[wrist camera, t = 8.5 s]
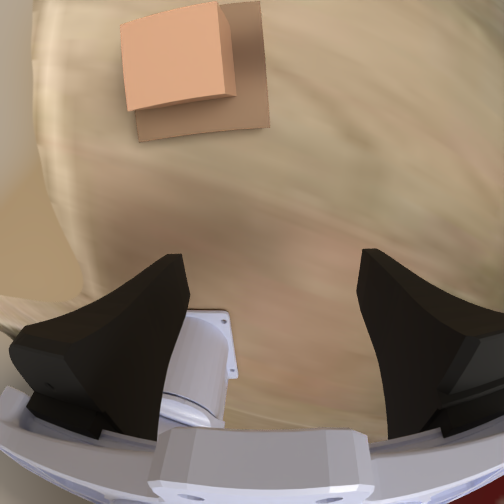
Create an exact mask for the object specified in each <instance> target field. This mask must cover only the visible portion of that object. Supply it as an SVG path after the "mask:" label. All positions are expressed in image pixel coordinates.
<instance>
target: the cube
mask: <svg viewBox="0 0 504 504" xmlns="http://www.w3.org/2000/svg"><path fill="white" fill-rule="evenodd" d="M120 32H121V49H122V62H123V74H124V84H125V93H126V102H127V109H128V111H134V110H142V109H152V108H161V107H167V106H172V105H177V104H183V103H189V102H196V101H202V100H210V99H217V98H226V97H235V96H237V93H236V82H235V72H234V61H233V51H232V40H231V30H230V24H229V22H228V21H227V19H226V17H225V15H224V13H223V11H222V10H221V8H220V6H219V4H218V3H217V1H214V2H207V3H202V4H196V5H191V6H186V7H182V8H177V9H173V10H169V11H165V12H161V13H157V14H153V15H150V16H146V17H143V18H140V19H136V20H133V21H130V22H127V23H124V24H121V25H120Z"/></svg>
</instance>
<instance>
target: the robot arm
mask: <svg viewBox="0 0 504 504" xmlns="http://www.w3.org/2000/svg"><path fill="white" fill-rule="evenodd" d="M356 292H357V297H358V302H359V306H360V310H361V313H362V316H363V319H364V322H365V324H366V327H367V330H368V333H369V335H370V338H371V341H372V344H373V347H374V349H375V352H376V356H377V359H378V363H379V367H380V372H381V378H382V383H383V390H384V396H385V404H386V413H387V424H388V440H385V441H380V442H374V443H368V439H367V435H365V434H363V433H360V432H358V431H355V430H352V429H350V428H330V427H322V428H308V429H283V430H250V429H226V428H224V426H225V422H224V421H222V420H223V414H224V407H225V400H226V393H227V386H228V379H229V378H231V379H235V378H237V377H238V368H237V362H236V356H235V350H234V343H233V336H232V330H231V323H230V316H229V313H228V312H227V311H223V310H187V309H188V304H189V299H190V292H189V287H188V282H187V278H186V273H185V268H184V263H183V258H182V254H167V255H165V256H164V257H162V258H160V259H159V260H157V261H156V262H155V263H153V264H152V265H150V266H149V267H148V268H146V269H145V270H144V271H142V272H141V273H139V274H138V275H137V276H135V277H134V278H132V279H131V280H129V281H128V282H126V283H125V284H123V285H122V286H120V287H119V288H118V289H116V290H114V291H113V292H111V293H109V294H108V295H106V296H104V297H102V298H100V299H99V300H97V301H95V302H93V303H91V304H88V305H86V306H84V307H82V308H80V309H78V310H75V311H73V312H70V313H68V314H65V315H62V316H59V317H57V318H54V319H50V320H47V321H43V322H39V323H35V324H32V325H27V326H25V327H24V328H23V329H22V330H21V332H20V333H19V334H18V335H17V337H16V338H15V339H14V341H13V342H12V344H11V345H10V347H9V354H10V358H11V360H12V362H13V364H14V366H15V367H16V369H17V370H18V371H19V373H20V374H21V375H22V377H23V378H24V379H25V381H26V382H27V383H28V384H29V386H30V387H31V388H32V389H33V390H34V393H33V395H32V397H30V396H28V395H27V394H25V393H24V392H22V391H19V390H17V389H15V388H12V387H11V386H6V388H5V389H4V391H3V393H2V395H1V396H0V450H1V451H3V452H4V453H5V454H7V455H8V456H9V457H10V458H12V459H13V460H14V461H16V462H17V463H18V464H20V465H21V466H23V467H24V468H26V469H28V470H29V471H31V472H33V473H34V474H36V475H38V476H40V477H42V478H43V479H45V480H47V481H49V482H51V483H53V484H55V485H57V486H59V487H60V488H62V489H64V490H66V491H69V492H71V493H73V494H75V495H77V496H79V497H81V498H84V499H86V500H88V501H91V502H93V503H96V504H446V503H448V502H451V501H453V500H455V499H458V498H460V497H462V496H464V495H466V494H468V493H470V492H472V491H474V490H476V489H478V488H480V487H482V486H484V485H486V484H488V483H490V482H492V481H493V480H495V479H497V478H499V477H501V476H502V475H504V313H501V312H496V311H493V310H490V309H486V308H483V307H480V306H477V305H475V304H472V303H469V302H467V301H465V300H462V299H460V298H457V297H455V296H453V295H451V294H449V293H447V292H445V291H443V290H441V289H439V288H437V287H436V286H434V285H432V284H430V283H429V282H427V281H425V280H424V279H422V278H421V277H419V276H417V275H416V274H414V273H413V272H411V271H410V270H408V269H407V268H406V267H404V266H403V265H401V264H400V263H398V262H397V261H395V260H394V259H393V258H391V257H390V256H388V255H387V254H385V253H384V252H382V251H380V250H378V249H362V256H361V263H360V270H359V277H358V283H357V290H356ZM223 319H224V320H226V321H223Z"/></svg>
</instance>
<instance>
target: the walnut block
mask: <svg viewBox="0 0 504 504" xmlns="http://www.w3.org/2000/svg"><path fill="white" fill-rule="evenodd" d="M219 6H220V8H221V10H222V11H223V13H224V15H225V17H226V19H227V21H228V22H229V24H230V30H231V40H232V51H233V61H234V72H235V82H236V93H237V96H235V97H226V98H217V99H210V100H202V101H196V102H189V103H183V104H177V105H172V106H167V107H161V108H152V109H142V110H135V117H136V124H137V132H138V138H139V142H145V141H150V140H156V139H162V138H169V137H176V136H183V135H190V134H198V133H207V132H216V131H226V130H238V129H252V128H270V119H269V104H268V90H267V77H266V64H265V52H264V40H263V29H262V18H261V8H260V1H255V2H242V3H232V4H224V5H219Z"/></svg>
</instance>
